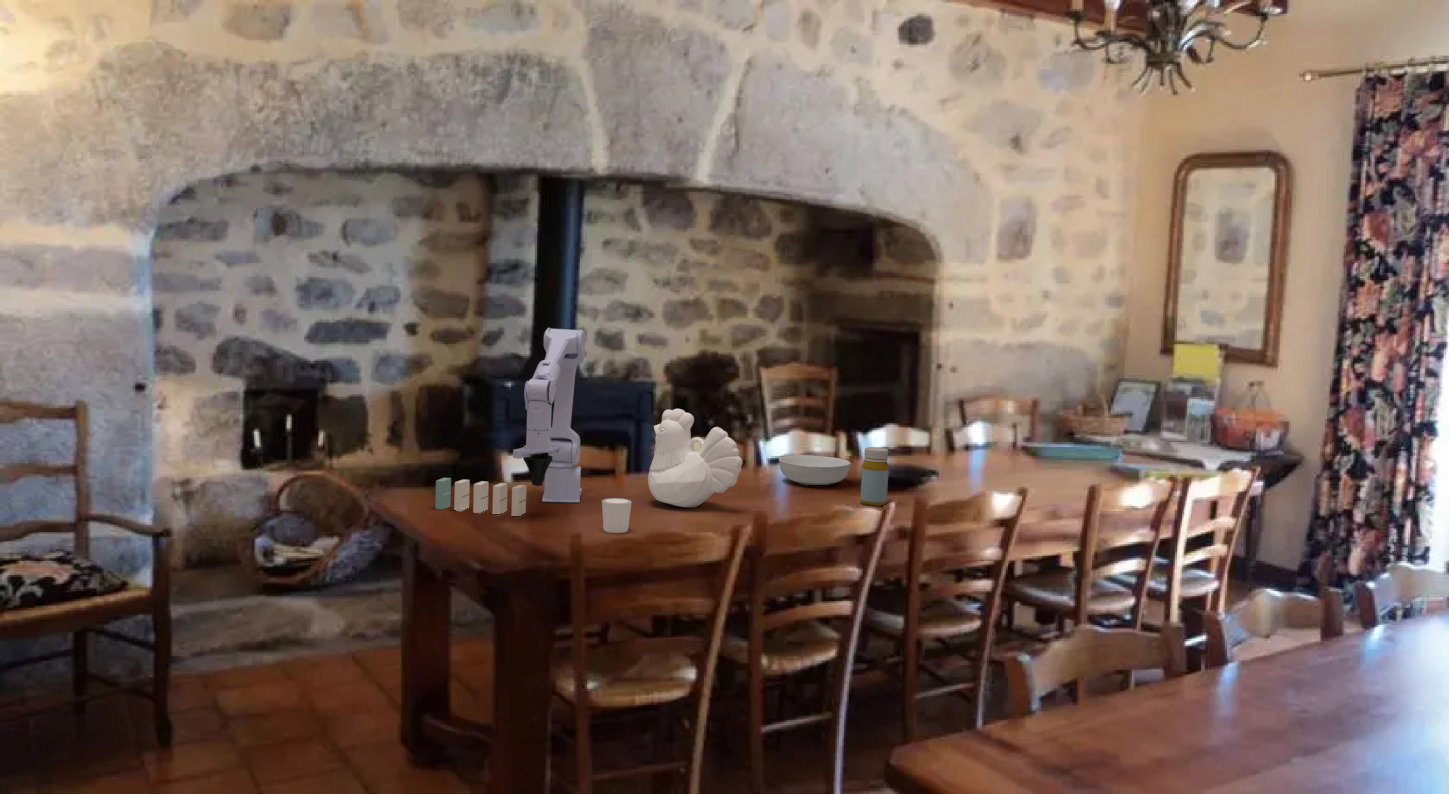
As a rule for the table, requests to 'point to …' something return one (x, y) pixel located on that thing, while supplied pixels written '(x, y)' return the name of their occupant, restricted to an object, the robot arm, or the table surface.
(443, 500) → the tile
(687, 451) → the decorative rooster
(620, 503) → the shot glass
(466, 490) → the tile
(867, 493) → the bottle
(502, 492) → the tile
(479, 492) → the tile
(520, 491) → the lead tile
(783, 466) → the serving bowl
